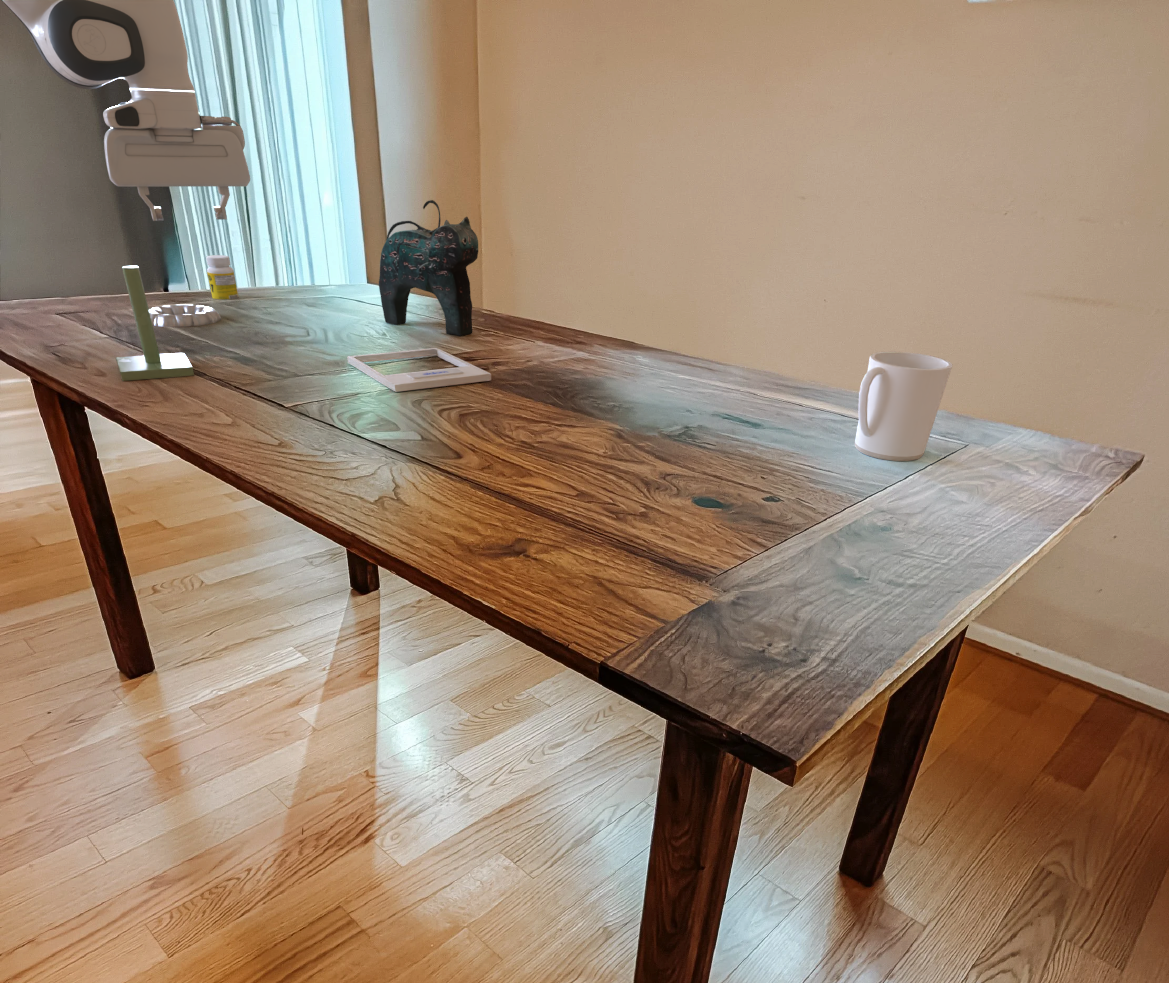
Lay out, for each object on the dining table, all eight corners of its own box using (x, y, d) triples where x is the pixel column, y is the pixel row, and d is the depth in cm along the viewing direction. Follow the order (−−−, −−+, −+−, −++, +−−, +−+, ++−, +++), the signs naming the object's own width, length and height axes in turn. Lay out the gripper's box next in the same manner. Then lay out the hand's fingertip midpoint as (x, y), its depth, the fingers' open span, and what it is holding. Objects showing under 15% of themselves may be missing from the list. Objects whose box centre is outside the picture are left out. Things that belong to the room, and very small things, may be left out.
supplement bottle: (214, 303, 158) (204, 254, 153) (240, 303, 159) (231, 254, 154) (213, 307, 154) (203, 258, 149) (239, 307, 155) (230, 258, 150)
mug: (888, 435, 103) (910, 349, 97) (943, 457, 96) (970, 366, 91) (821, 445, 98) (839, 355, 93) (874, 468, 92) (897, 374, 86)
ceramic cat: (484, 334, 144) (480, 203, 133) (461, 339, 139) (455, 204, 128) (398, 318, 152) (387, 194, 141) (374, 324, 147) (361, 195, 136)
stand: (122, 381, 110) (93, 272, 102) (117, 366, 116) (90, 263, 109) (194, 375, 113) (171, 270, 106) (186, 361, 120) (163, 261, 113)
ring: (148, 338, 131) (143, 318, 129) (141, 324, 140) (136, 305, 138) (227, 333, 136) (223, 314, 134) (216, 320, 145) (212, 301, 143)
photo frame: (394, 383, 109) (346, 355, 122) (395, 391, 110) (347, 362, 122) (490, 372, 116) (436, 346, 129) (491, 380, 117) (437, 353, 129)
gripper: (237, 116, 129) (254, 216, 137) (91, 112, 121) (119, 218, 128) (244, 117, 124) (261, 220, 132) (93, 112, 116) (122, 223, 124)
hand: (190, 219), depth 130 cm, fingers open, 8 cm apart
